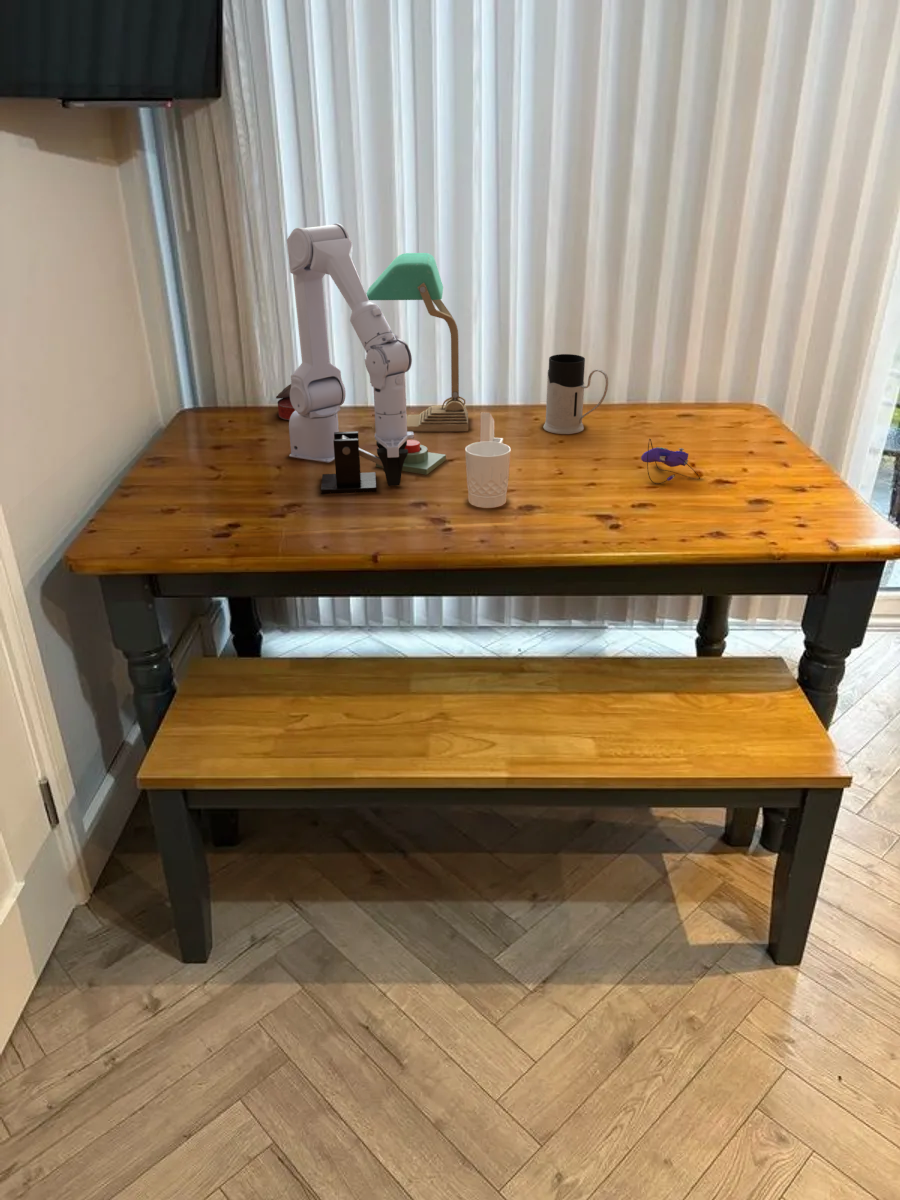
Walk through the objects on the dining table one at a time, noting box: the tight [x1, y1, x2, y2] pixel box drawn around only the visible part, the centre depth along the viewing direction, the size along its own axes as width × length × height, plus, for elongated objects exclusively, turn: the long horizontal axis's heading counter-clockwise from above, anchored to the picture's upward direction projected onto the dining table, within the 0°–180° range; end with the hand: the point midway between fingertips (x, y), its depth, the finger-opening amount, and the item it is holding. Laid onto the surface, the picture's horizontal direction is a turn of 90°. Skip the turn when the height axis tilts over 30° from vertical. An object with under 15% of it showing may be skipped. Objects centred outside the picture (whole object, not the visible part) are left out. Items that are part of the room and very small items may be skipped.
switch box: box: [375, 444, 447, 475], centre depth 186 cm, size 11×9×3 cm
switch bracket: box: [320, 430, 377, 495], centre depth 174 cm, size 10×8×10 cm
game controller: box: [640, 438, 701, 485], centre depth 179 cm, size 10×8×10 cm
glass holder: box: [542, 353, 609, 435], centre depth 201 cm, size 9×14×15 cm, turn 54°
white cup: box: [464, 441, 512, 509], centre depth 167 cm, size 8×8×10 cm
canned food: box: [275, 383, 295, 421], centre depth 215 cm, size 11×10×10 cm
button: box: [405, 439, 421, 453], centre depth 185 cm, size 4×4×2 cm
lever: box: [341, 435, 385, 473], centre depth 174 cm, size 12×3×3 cm, turn 93°
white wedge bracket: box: [479, 411, 504, 444], centre depth 187 cm, size 4×10×9 cm
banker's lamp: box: [366, 252, 469, 432], centre depth 200 cm, size 16×21×35 cm
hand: (393, 481), depth 176 cm, fingers closed on lever, 3 cm apart
